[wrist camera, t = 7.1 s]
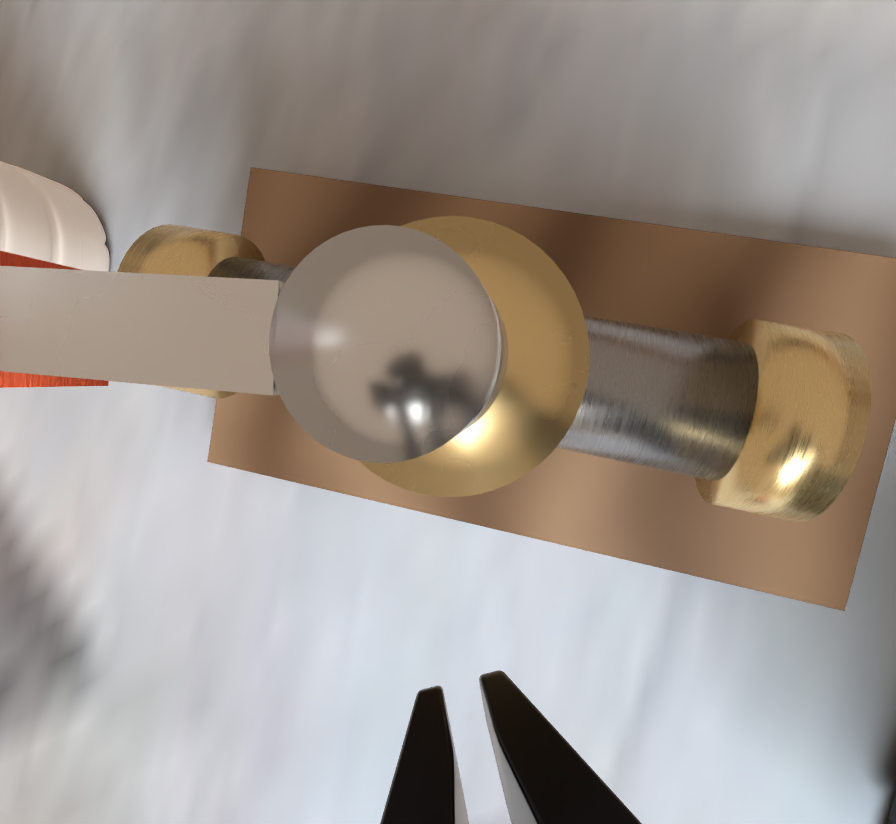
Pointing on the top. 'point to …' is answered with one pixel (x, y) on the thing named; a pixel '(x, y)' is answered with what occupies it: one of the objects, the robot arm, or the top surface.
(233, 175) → the top surface
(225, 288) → the valve lever
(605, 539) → the valve board
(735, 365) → the valve body
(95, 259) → the water bottle
